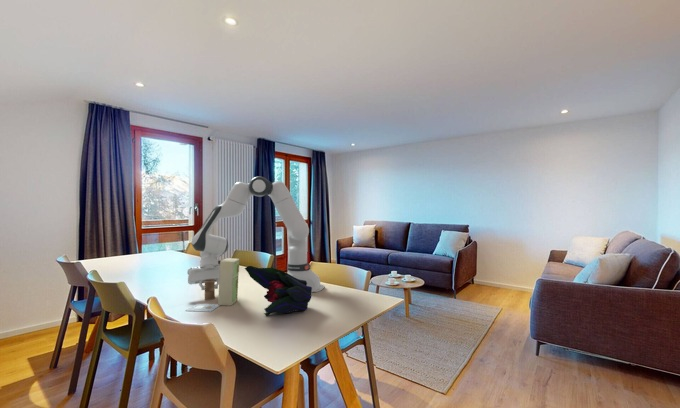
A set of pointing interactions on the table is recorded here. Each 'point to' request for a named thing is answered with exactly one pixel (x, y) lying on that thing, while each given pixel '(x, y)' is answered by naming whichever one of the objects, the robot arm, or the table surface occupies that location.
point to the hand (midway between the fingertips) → (209, 288)
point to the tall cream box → (228, 281)
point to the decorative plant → (281, 290)
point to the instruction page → (203, 307)
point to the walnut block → (209, 289)
